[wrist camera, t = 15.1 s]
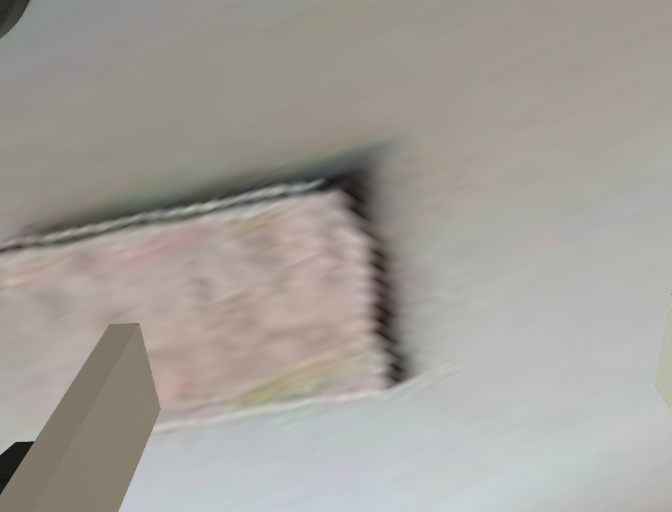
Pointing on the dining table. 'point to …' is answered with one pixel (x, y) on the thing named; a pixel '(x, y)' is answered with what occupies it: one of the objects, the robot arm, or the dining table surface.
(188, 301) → the dining table surface
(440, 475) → the dining table surface
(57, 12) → the dining table surface
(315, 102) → the dining table surface
